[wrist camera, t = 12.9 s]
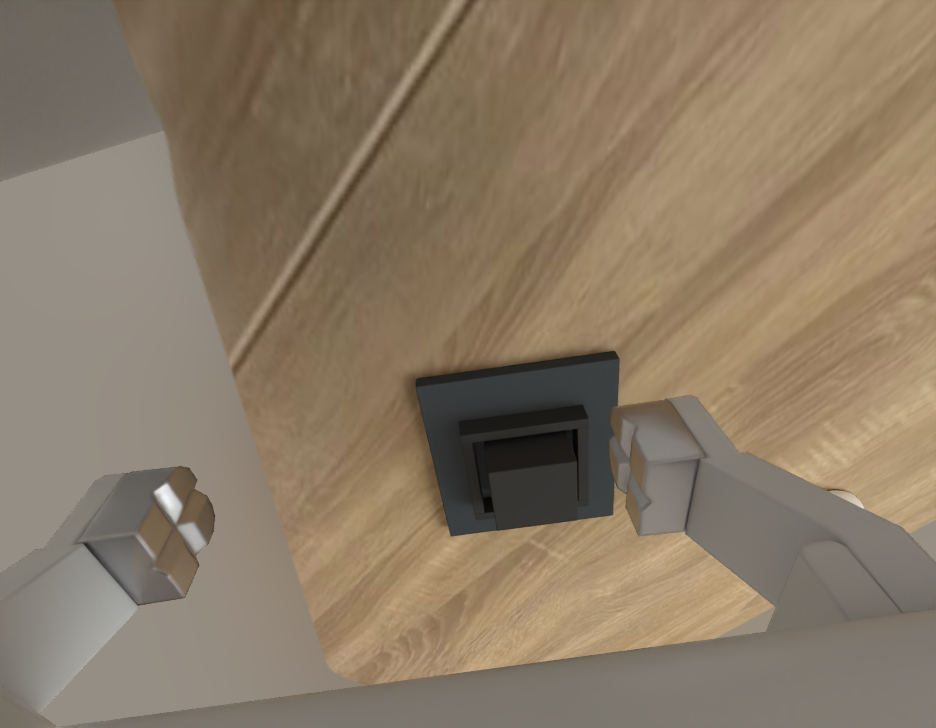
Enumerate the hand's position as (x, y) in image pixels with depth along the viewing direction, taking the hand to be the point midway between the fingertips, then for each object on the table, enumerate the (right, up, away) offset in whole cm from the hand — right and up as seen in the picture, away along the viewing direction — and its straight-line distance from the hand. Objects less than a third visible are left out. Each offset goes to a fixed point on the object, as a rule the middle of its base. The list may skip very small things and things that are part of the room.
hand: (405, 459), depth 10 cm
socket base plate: (+6, -5, +29) cm, 30 cm away
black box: (+6, -5, +28) cm, 29 cm away
